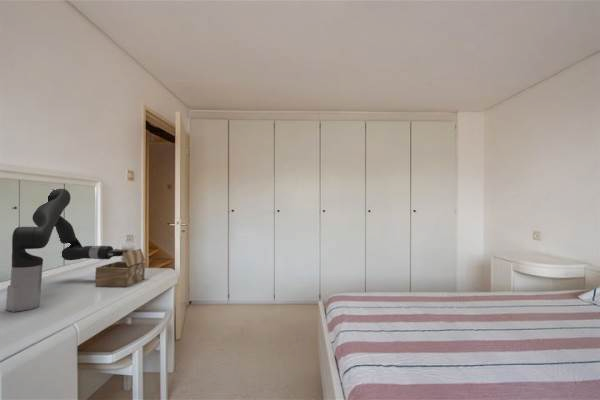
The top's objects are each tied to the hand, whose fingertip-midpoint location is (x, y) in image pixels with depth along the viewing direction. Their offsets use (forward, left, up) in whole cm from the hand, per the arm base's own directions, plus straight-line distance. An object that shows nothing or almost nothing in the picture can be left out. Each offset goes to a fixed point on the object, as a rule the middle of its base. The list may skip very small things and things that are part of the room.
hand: (132, 253), depth 158 cm
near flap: (0, -1, -2) cm, 3 cm away
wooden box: (-2, +5, -17) cm, 17 cm away
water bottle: (+12, +21, -17) cm, 29 cm away
